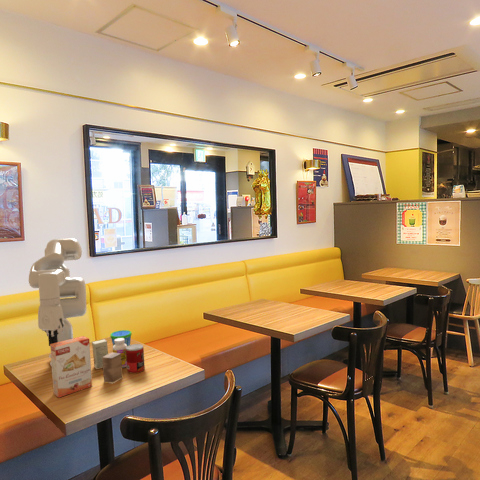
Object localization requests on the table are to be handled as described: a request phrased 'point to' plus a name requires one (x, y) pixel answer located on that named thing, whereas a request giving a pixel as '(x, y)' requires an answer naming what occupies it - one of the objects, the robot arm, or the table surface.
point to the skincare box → (99, 352)
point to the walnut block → (112, 367)
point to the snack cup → (121, 336)
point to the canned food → (135, 358)
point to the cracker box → (71, 366)
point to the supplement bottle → (120, 350)
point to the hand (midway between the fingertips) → (53, 345)
